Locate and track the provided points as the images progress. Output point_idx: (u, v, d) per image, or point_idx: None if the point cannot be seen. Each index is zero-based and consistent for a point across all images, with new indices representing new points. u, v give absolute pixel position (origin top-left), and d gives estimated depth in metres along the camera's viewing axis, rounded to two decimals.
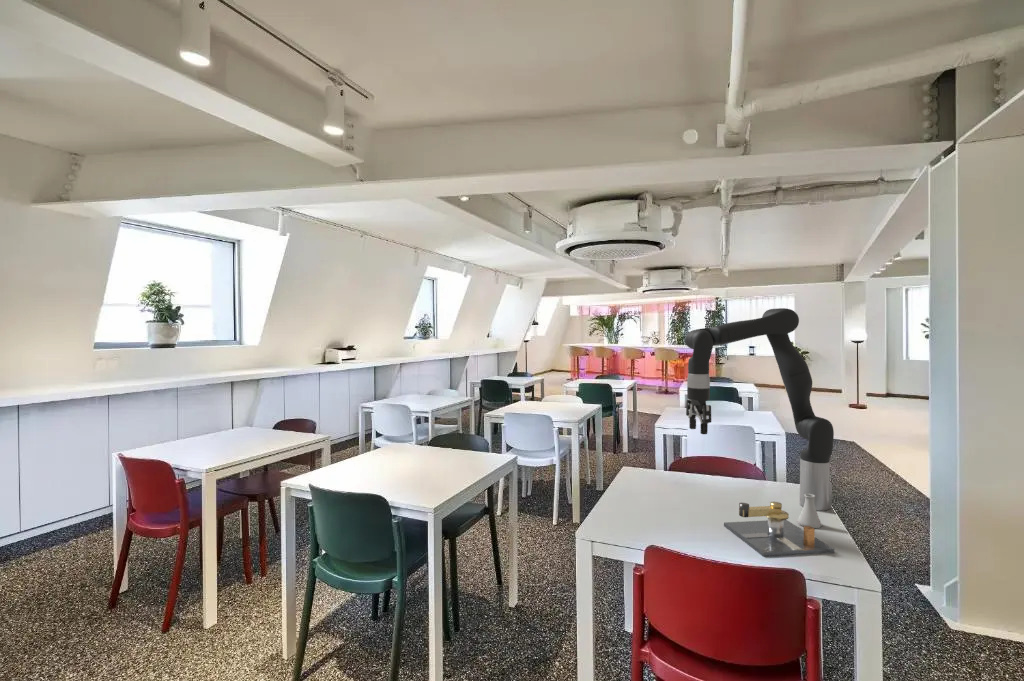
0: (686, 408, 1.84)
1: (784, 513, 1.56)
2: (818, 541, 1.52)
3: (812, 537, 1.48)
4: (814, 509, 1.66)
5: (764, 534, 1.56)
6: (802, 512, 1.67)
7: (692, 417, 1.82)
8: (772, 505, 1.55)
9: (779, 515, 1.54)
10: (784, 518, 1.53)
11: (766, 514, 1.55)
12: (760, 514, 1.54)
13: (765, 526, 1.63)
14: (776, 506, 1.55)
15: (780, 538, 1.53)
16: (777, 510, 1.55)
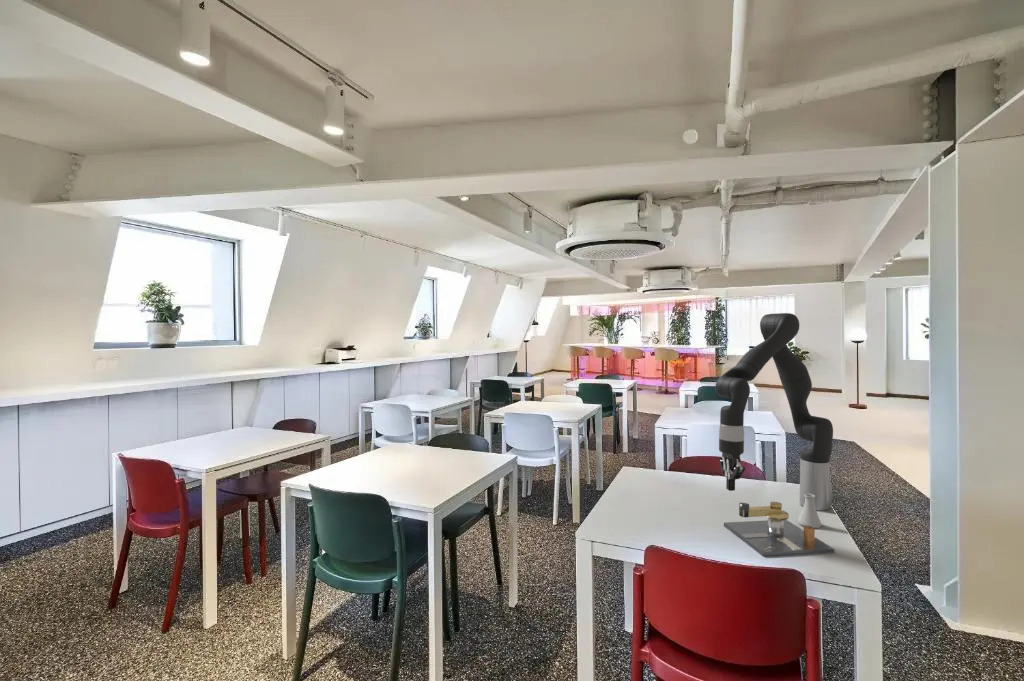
0: None
1: (784, 513, 1.56)
2: (818, 541, 1.52)
3: (812, 537, 1.48)
4: (814, 509, 1.66)
5: (764, 534, 1.56)
6: (802, 512, 1.67)
7: None
8: (772, 505, 1.55)
9: (779, 515, 1.54)
10: (784, 518, 1.53)
11: (766, 514, 1.55)
12: (760, 514, 1.54)
13: (765, 526, 1.63)
14: (776, 506, 1.55)
15: (780, 538, 1.53)
16: (777, 510, 1.55)
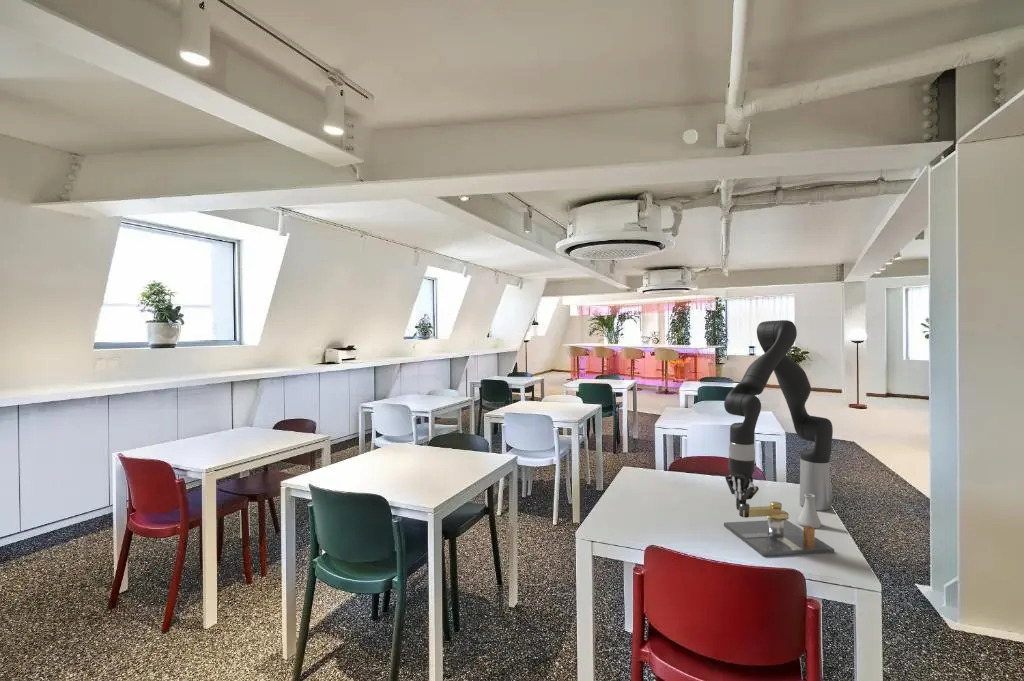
0: (729, 486, 1.62)
1: (784, 512, 1.56)
2: (818, 541, 1.52)
3: (812, 537, 1.48)
4: (814, 509, 1.66)
5: (764, 534, 1.56)
6: (802, 512, 1.67)
7: None
8: (772, 505, 1.55)
9: (779, 515, 1.54)
10: (784, 518, 1.53)
11: (766, 514, 1.55)
12: (760, 514, 1.54)
13: (765, 526, 1.63)
14: (776, 506, 1.55)
15: (780, 538, 1.53)
16: (777, 510, 1.55)
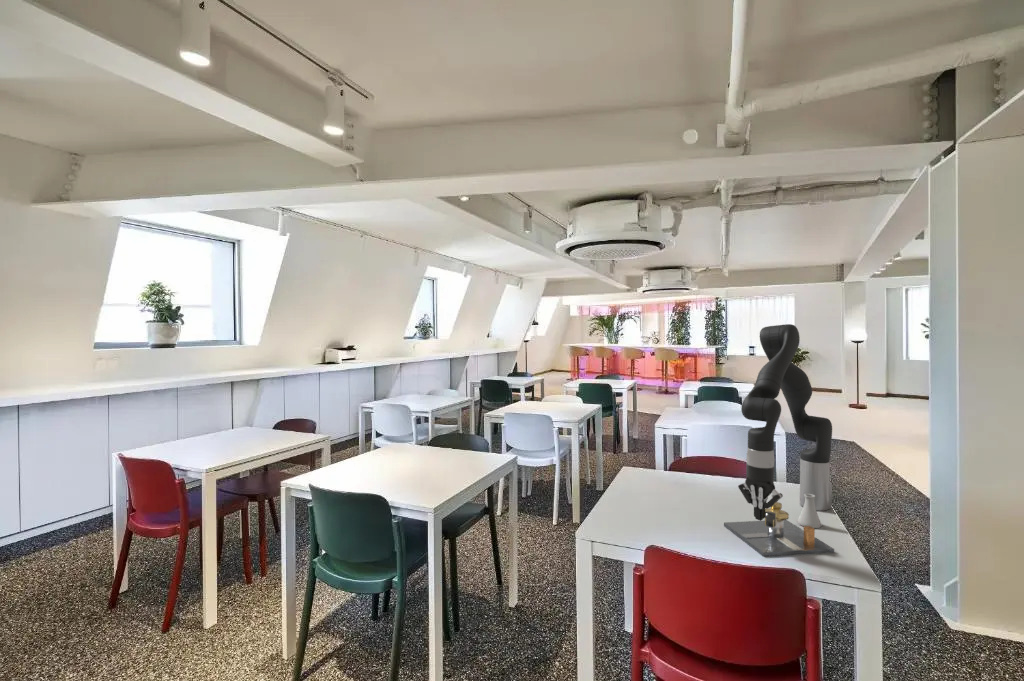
0: (744, 495, 1.54)
1: None
2: (818, 541, 1.52)
3: (812, 537, 1.48)
4: (814, 509, 1.66)
5: (764, 534, 1.56)
6: (802, 512, 1.67)
7: (758, 504, 1.51)
8: (777, 506, 1.55)
9: (784, 514, 1.55)
10: (788, 516, 1.55)
11: (778, 517, 1.52)
12: (777, 519, 1.51)
13: (765, 526, 1.63)
14: (780, 506, 1.55)
15: (780, 538, 1.53)
16: (780, 510, 1.55)
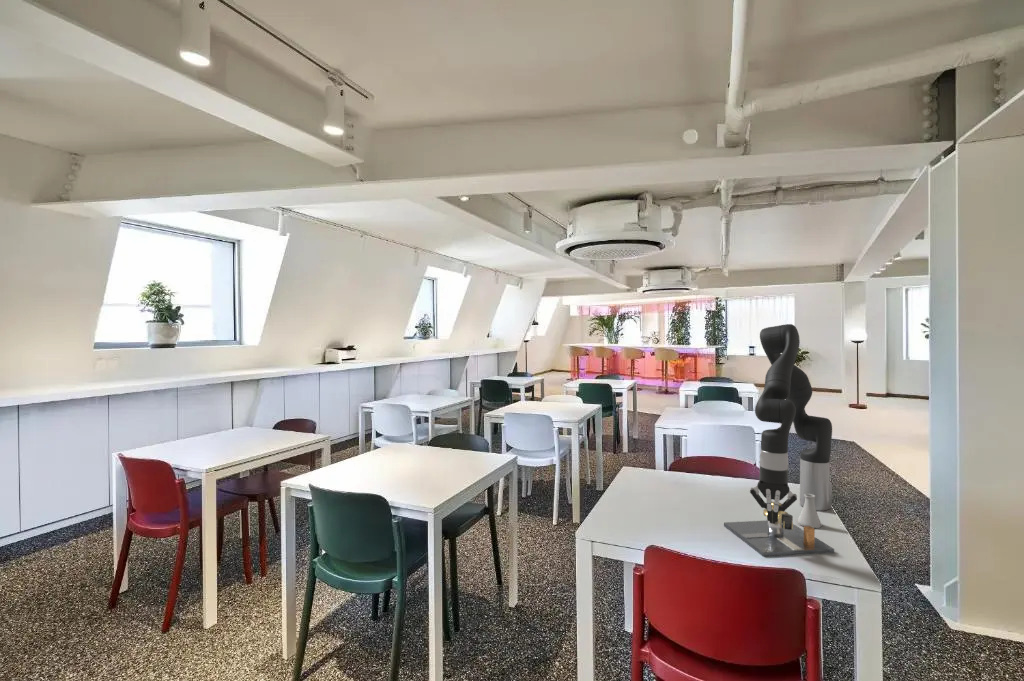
0: (756, 500, 1.50)
1: None
2: (818, 541, 1.52)
3: (812, 537, 1.48)
4: (814, 509, 1.66)
5: (764, 534, 1.56)
6: (802, 512, 1.67)
7: (771, 507, 1.49)
8: None
9: None
10: None
11: None
12: None
13: (765, 526, 1.63)
14: None
15: (780, 538, 1.53)
16: None
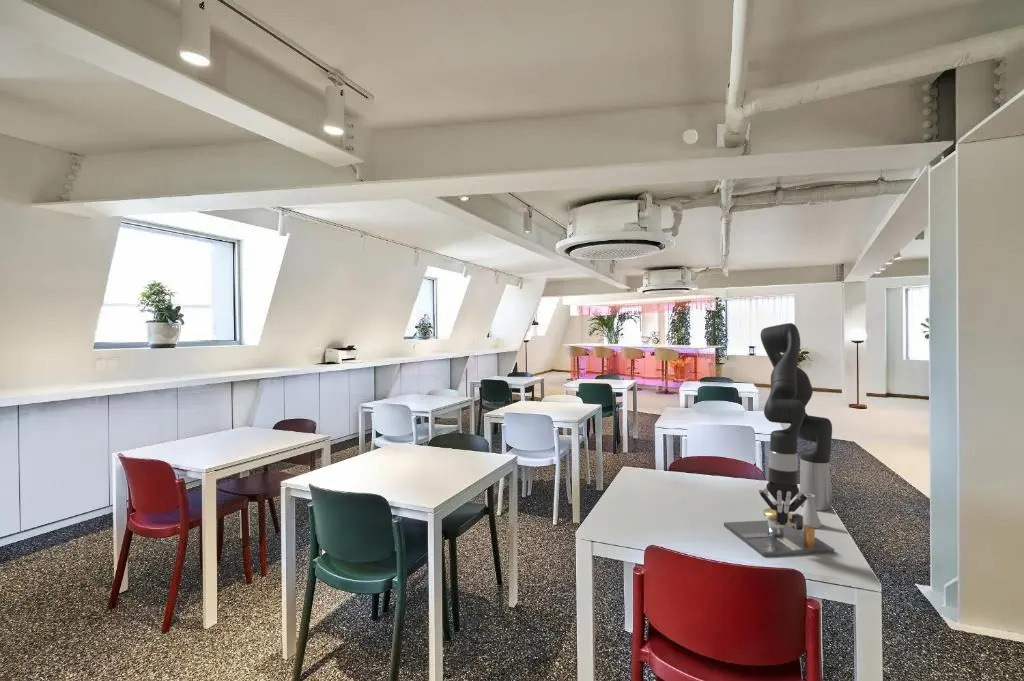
0: (767, 503, 1.48)
1: None
2: (818, 541, 1.52)
3: (812, 537, 1.48)
4: (814, 509, 1.66)
5: (764, 534, 1.56)
6: (802, 512, 1.67)
7: None
8: None
9: None
10: None
11: None
12: None
13: (765, 526, 1.63)
14: None
15: (780, 538, 1.53)
16: None
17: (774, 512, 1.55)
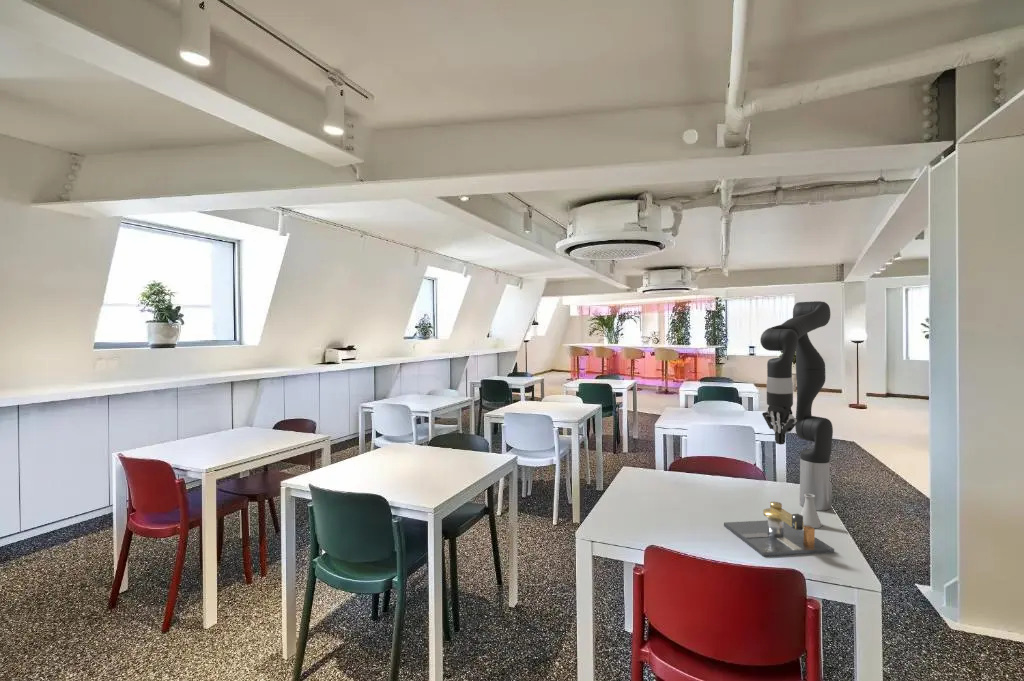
0: None
1: None
2: (818, 541, 1.52)
3: (812, 537, 1.48)
4: (814, 509, 1.66)
5: (764, 534, 1.56)
6: (802, 512, 1.67)
7: None
8: (780, 506, 1.55)
9: None
10: None
11: None
12: None
13: (765, 526, 1.63)
14: (781, 505, 1.55)
15: (780, 538, 1.53)
16: None
17: (774, 512, 1.55)
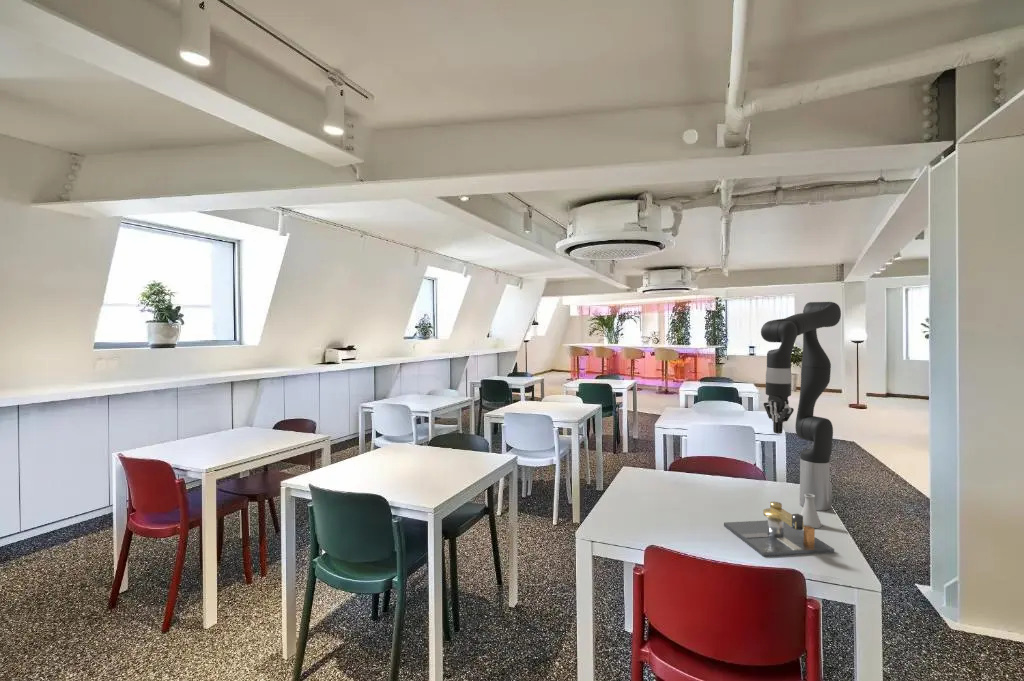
0: None
1: None
2: (818, 541, 1.52)
3: (812, 537, 1.48)
4: (814, 509, 1.66)
5: (764, 534, 1.56)
6: (802, 512, 1.67)
7: None
8: (780, 506, 1.55)
9: None
10: None
11: None
12: None
13: (765, 526, 1.63)
14: (781, 505, 1.55)
15: (780, 538, 1.53)
16: None
17: (774, 512, 1.55)
